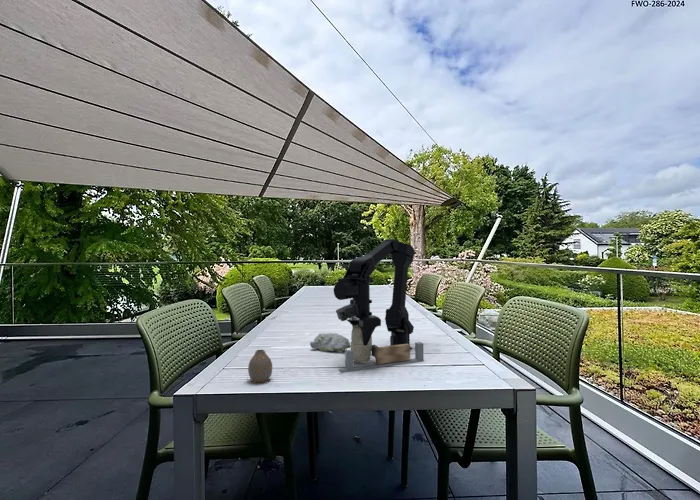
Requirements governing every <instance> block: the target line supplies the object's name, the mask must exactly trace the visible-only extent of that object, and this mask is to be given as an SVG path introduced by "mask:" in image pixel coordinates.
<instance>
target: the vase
mask: <svg viewBox="0 0 700 500" xmlns="http://www.w3.org/2000/svg"><path fill="white" fill-rule="evenodd" d="M247 370H248V371H247V372H248V376H249V378H250V380H251V381H252V382H254V383H256V384H257V383H261V384H262V383H265V382H267V381H268V380H269V379H270V378H271V376H272V374H273V362H272V359H271V358H270V356H269V355H268V354H267V353H266V351H265V350H264V349H256V350H255V351H254V355H253V356H252V357H251V358H250V360H249V363H248V367H247Z"/></svg>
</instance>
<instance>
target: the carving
mask: <svg viewBox="0 0 700 500" xmlns="http://www.w3.org/2000/svg"><path fill="white" fill-rule="evenodd" d="M359 325H360V324H359ZM350 336H351V337H350V339H351V341H350V346H351V347H350V350H352V351H353V355H354V362H358V363H363V364H364V363H369V362H370V361H371V356H372V345H373V339H372V337H373V334H372V335H371V338H370V340H369V342H368V344H367V345H366V346H364V345H363V338H362V331H361V329H360V328H359V327H358V326H357V325H354V326H353V327H352V328H351V335H350Z"/></svg>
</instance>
